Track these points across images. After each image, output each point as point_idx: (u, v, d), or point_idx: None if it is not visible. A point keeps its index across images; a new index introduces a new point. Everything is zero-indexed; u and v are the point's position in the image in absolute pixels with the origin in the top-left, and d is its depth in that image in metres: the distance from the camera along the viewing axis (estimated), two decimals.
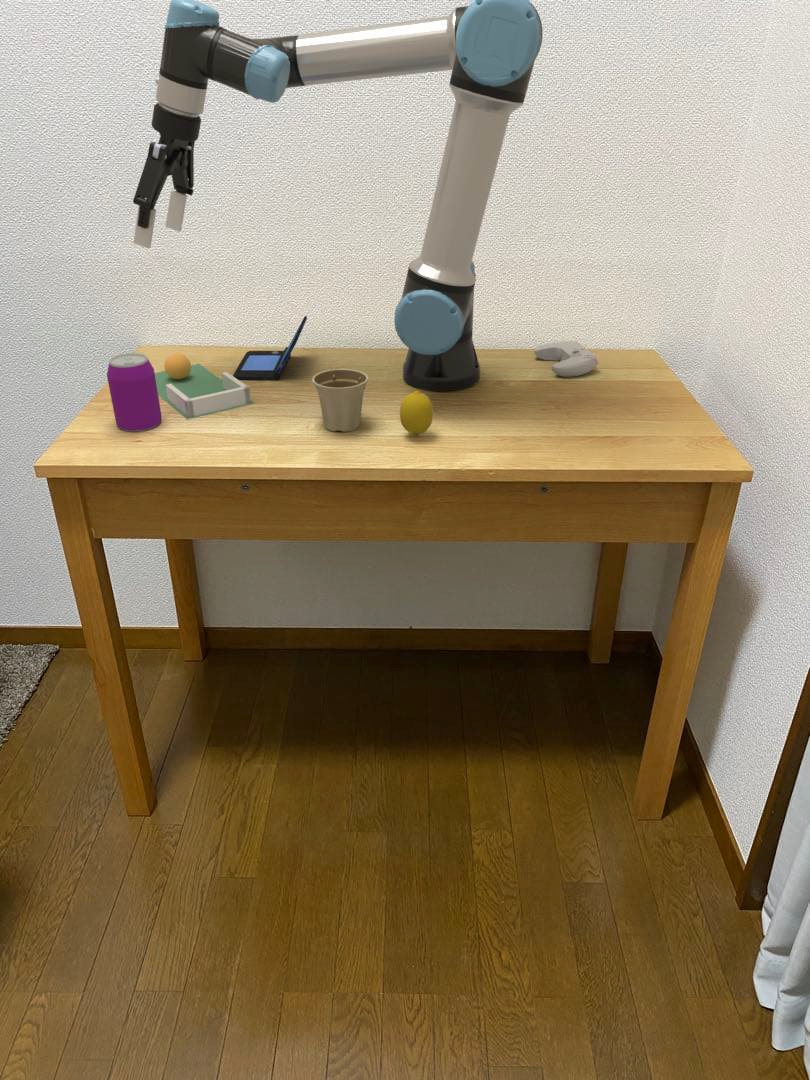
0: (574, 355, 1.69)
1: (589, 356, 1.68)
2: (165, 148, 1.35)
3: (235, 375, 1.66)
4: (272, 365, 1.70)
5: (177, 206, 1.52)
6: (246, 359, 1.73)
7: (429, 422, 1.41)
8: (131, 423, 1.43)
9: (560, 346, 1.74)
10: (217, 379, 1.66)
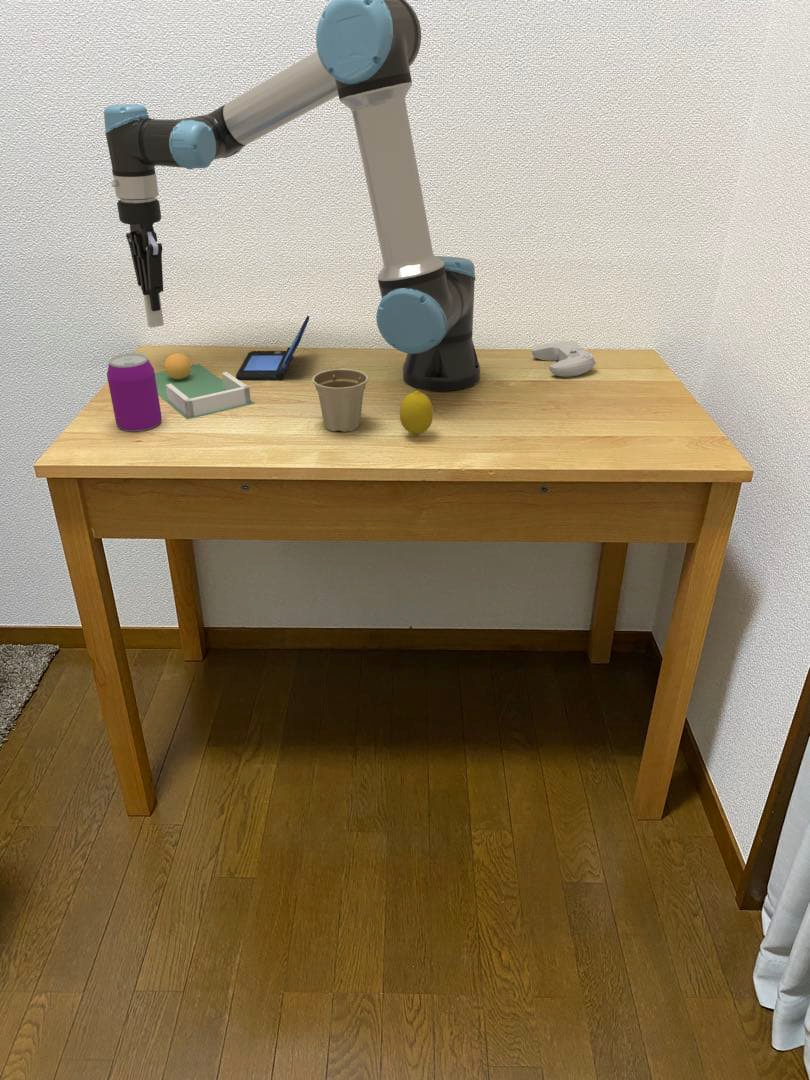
0: (572, 355, 1.69)
1: (587, 356, 1.68)
2: (161, 245, 1.56)
3: (238, 375, 1.66)
4: (275, 365, 1.70)
5: None
6: (249, 359, 1.73)
7: (429, 422, 1.41)
8: (131, 423, 1.43)
9: (558, 346, 1.74)
10: (217, 379, 1.66)
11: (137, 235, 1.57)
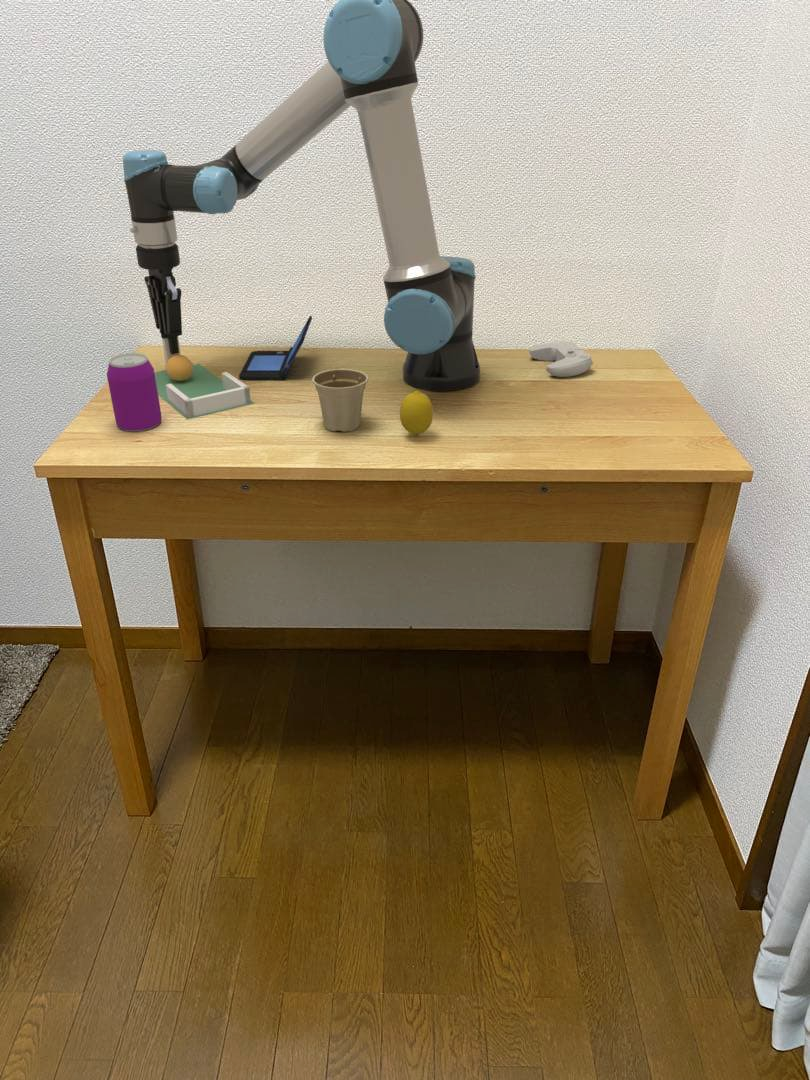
0: (569, 355, 1.69)
1: (584, 356, 1.68)
2: (180, 290, 1.55)
3: (241, 375, 1.66)
4: (278, 365, 1.70)
5: None
6: (252, 359, 1.73)
7: (429, 422, 1.41)
8: (131, 423, 1.43)
9: (555, 347, 1.74)
10: (217, 379, 1.66)
11: (156, 280, 1.56)
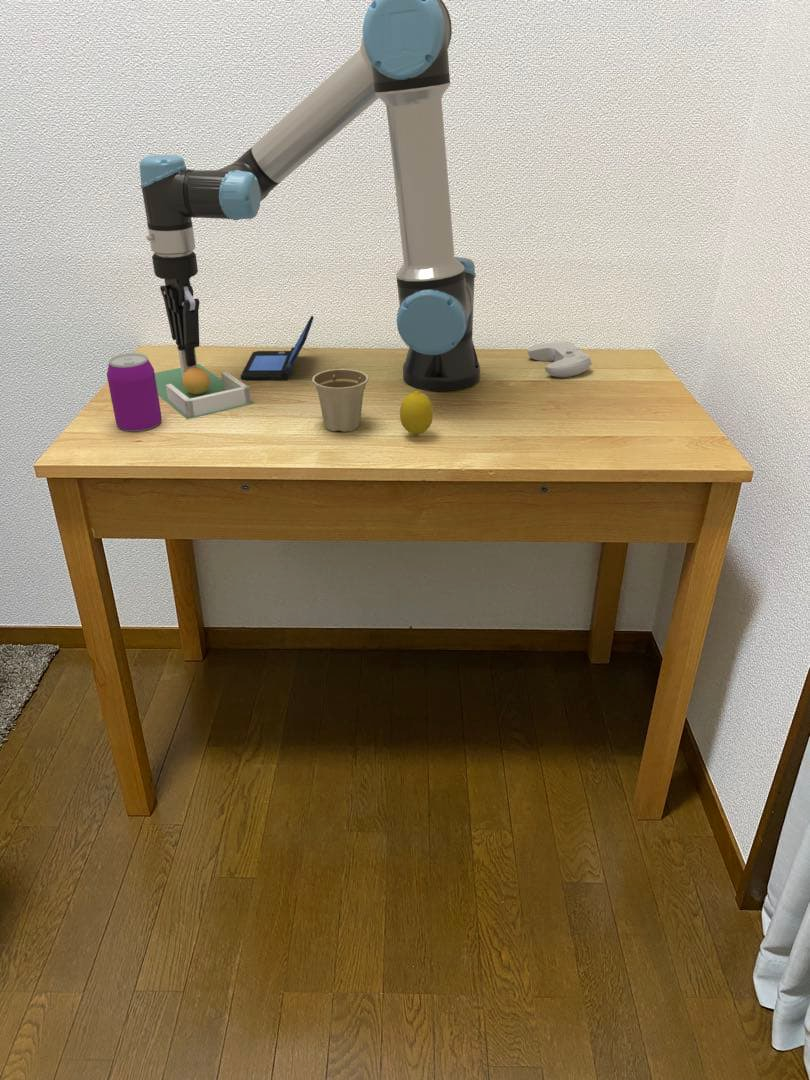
0: (568, 356, 1.69)
1: (583, 357, 1.67)
2: (198, 300, 1.49)
3: (243, 375, 1.66)
4: (279, 365, 1.70)
5: None
6: (253, 360, 1.73)
7: (429, 422, 1.41)
8: (131, 423, 1.43)
9: (554, 347, 1.74)
10: (217, 379, 1.66)
11: (173, 290, 1.50)
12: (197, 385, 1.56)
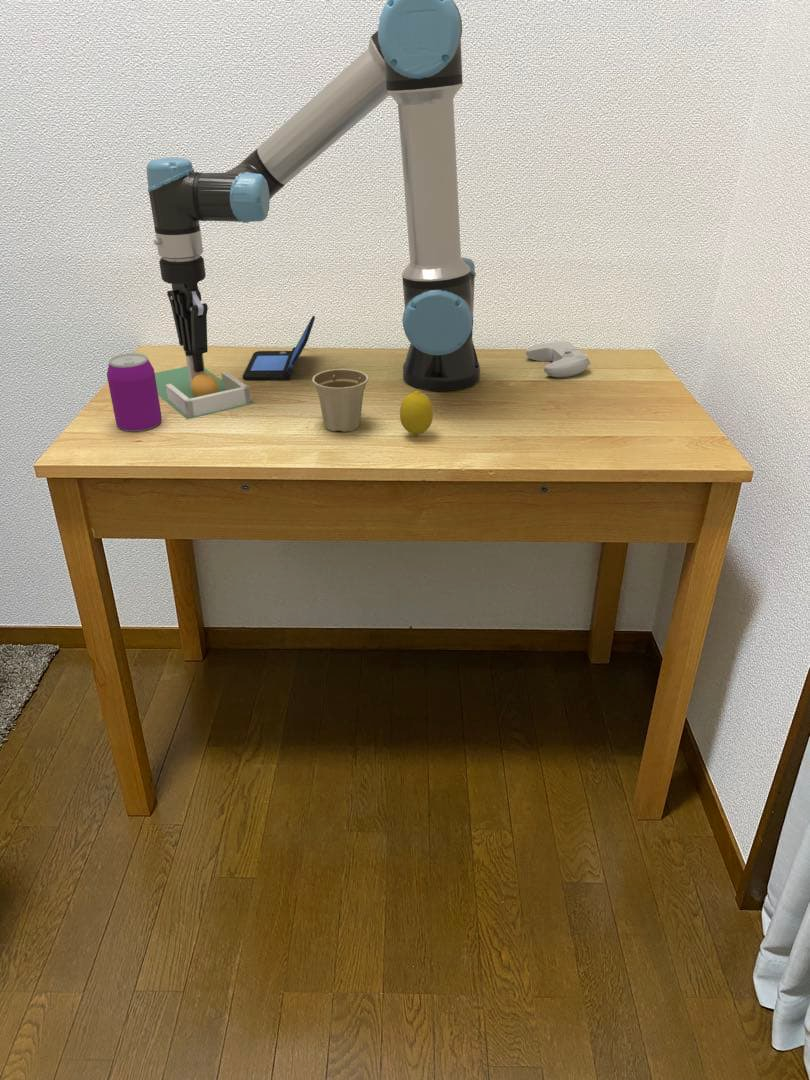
0: (566, 356, 1.69)
1: (581, 357, 1.67)
2: (206, 305, 1.46)
3: (245, 375, 1.66)
4: (281, 365, 1.70)
5: None
6: (255, 360, 1.73)
7: (429, 422, 1.41)
8: (131, 423, 1.43)
9: (552, 347, 1.74)
10: (217, 379, 1.66)
11: (180, 294, 1.48)
12: None
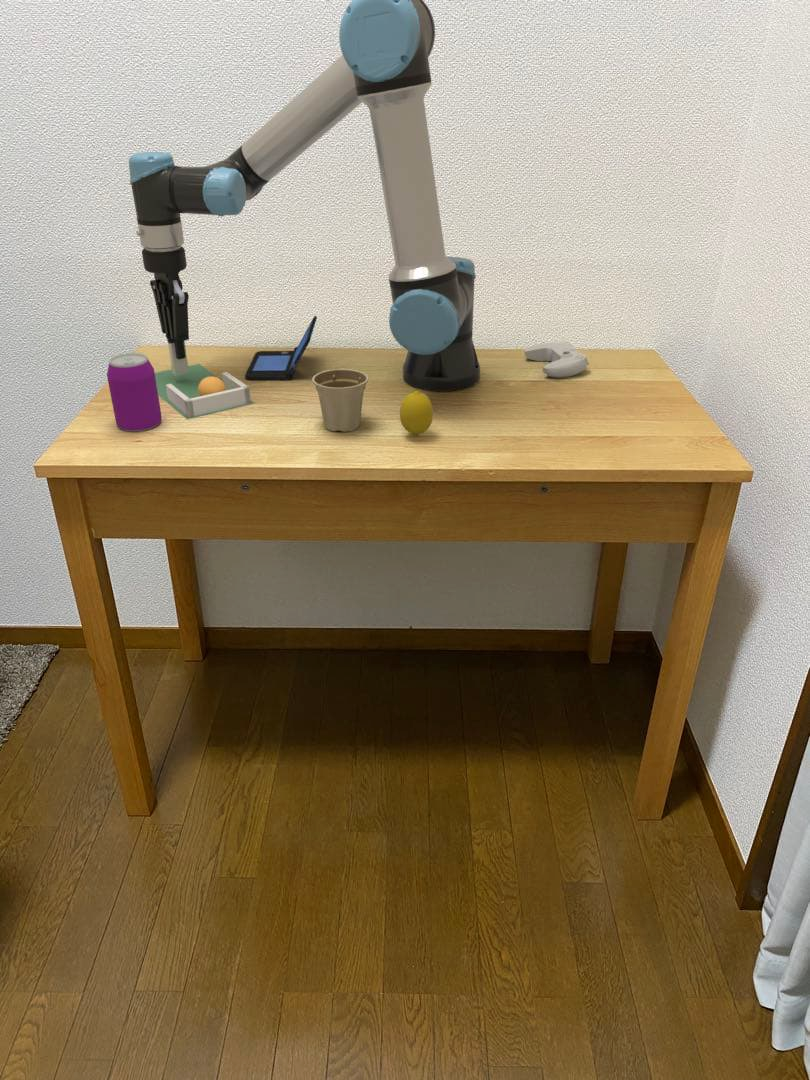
0: (565, 356, 1.68)
1: (580, 357, 1.67)
2: (187, 294, 1.52)
3: (247, 375, 1.66)
4: (283, 365, 1.70)
5: None
6: (257, 360, 1.73)
7: (429, 422, 1.41)
8: (131, 423, 1.43)
9: (550, 347, 1.74)
10: None
11: (162, 284, 1.53)
12: None
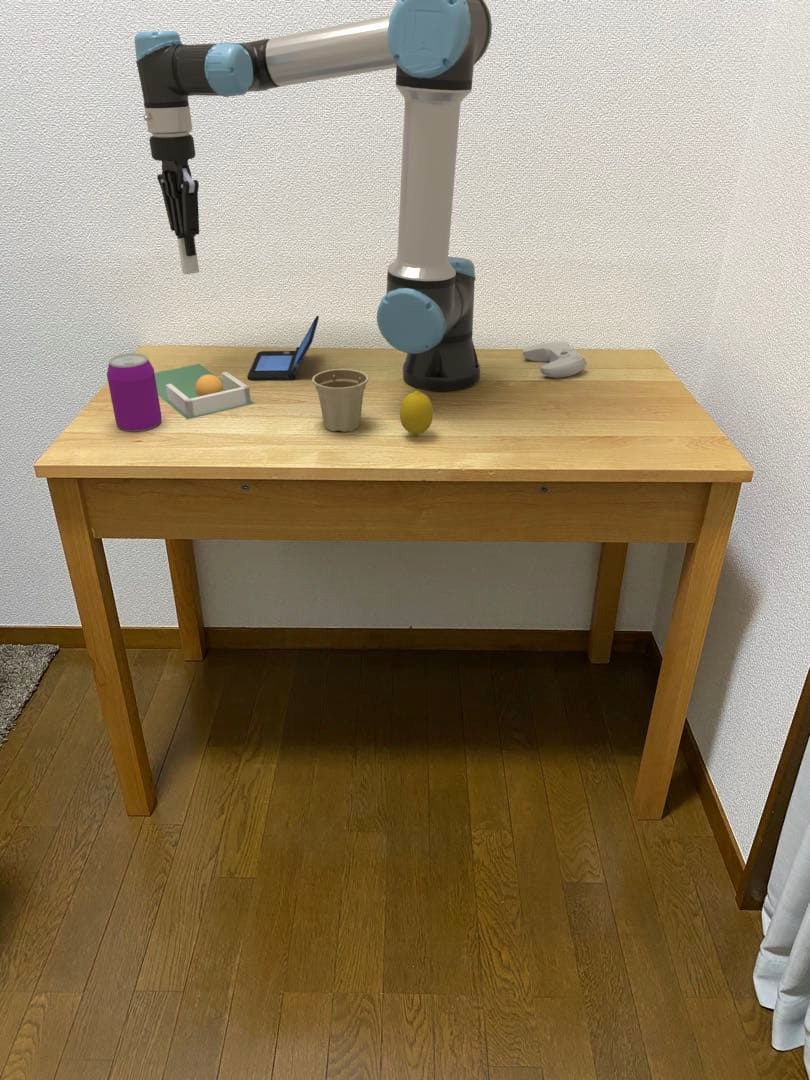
0: (563, 356, 1.68)
1: (578, 357, 1.67)
2: (197, 182, 1.48)
3: (250, 376, 1.66)
4: (285, 365, 1.70)
5: None
6: (259, 360, 1.73)
7: (429, 422, 1.41)
8: (131, 423, 1.43)
9: (548, 347, 1.74)
10: None
11: (171, 173, 1.49)
12: None
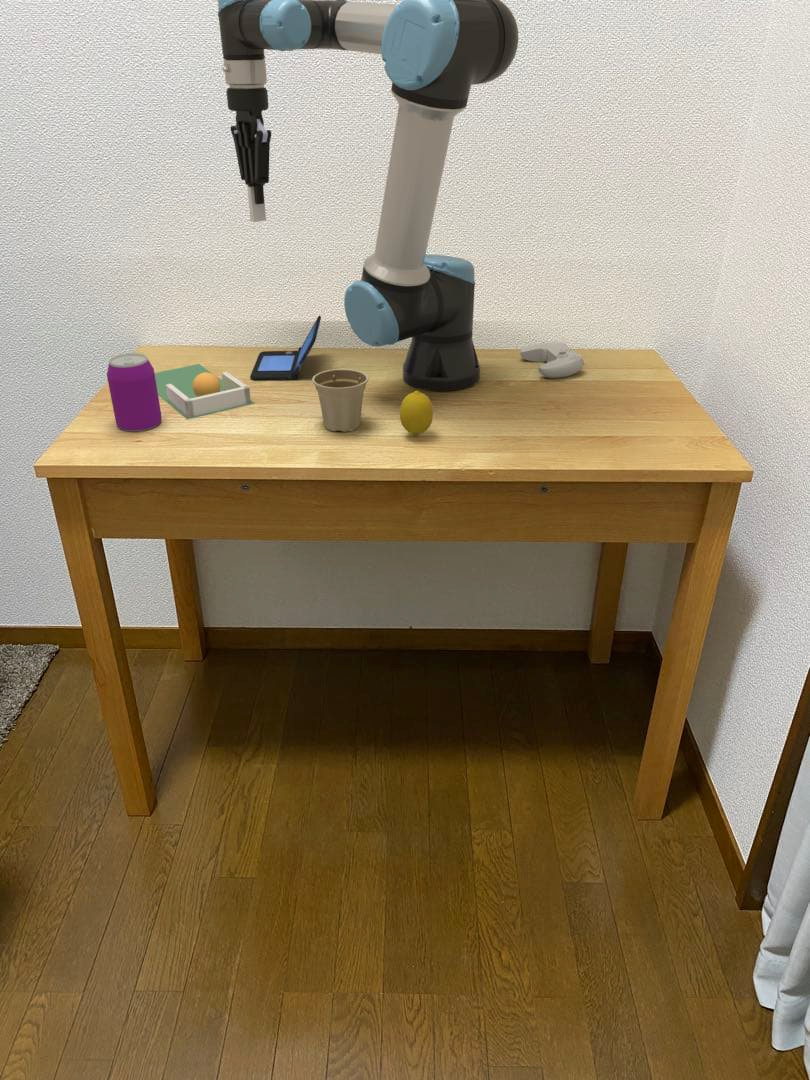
0: (561, 356, 1.68)
1: (576, 357, 1.67)
2: (270, 132, 1.57)
3: (252, 376, 1.66)
4: (288, 365, 1.70)
5: None
6: (261, 360, 1.73)
7: (429, 422, 1.41)
8: (131, 423, 1.43)
9: (546, 347, 1.74)
10: None
11: (245, 123, 1.58)
12: None
